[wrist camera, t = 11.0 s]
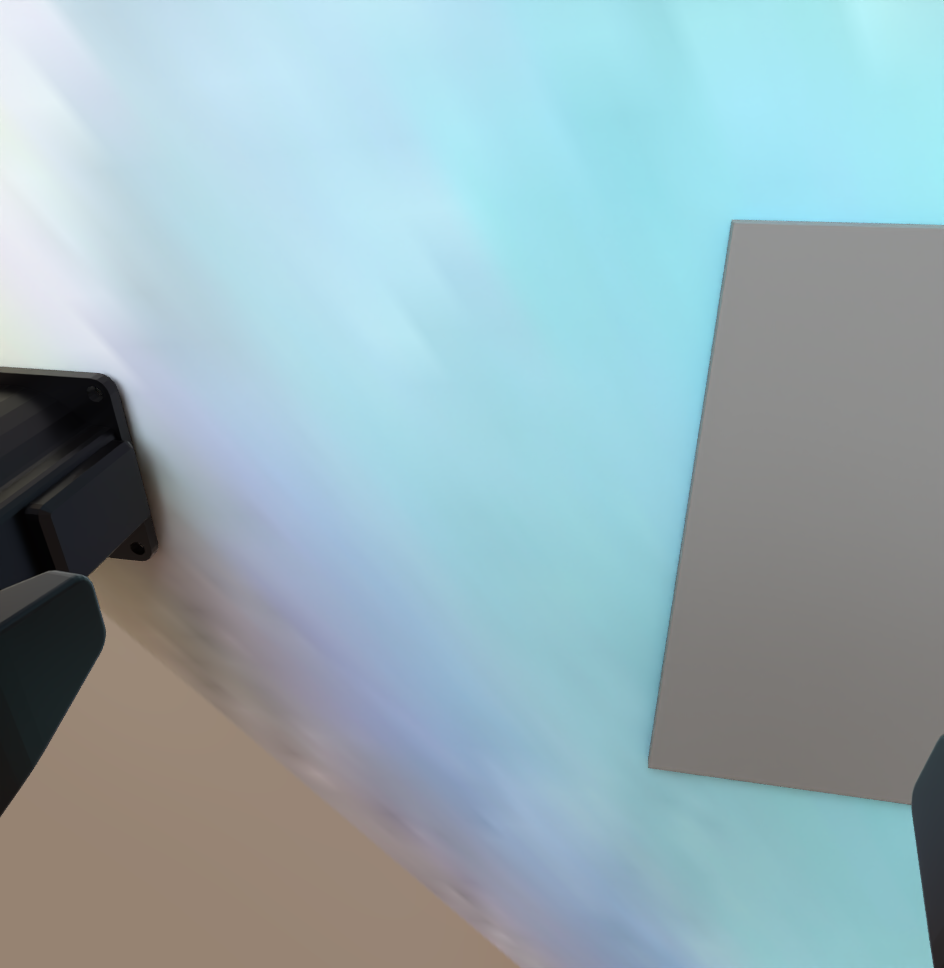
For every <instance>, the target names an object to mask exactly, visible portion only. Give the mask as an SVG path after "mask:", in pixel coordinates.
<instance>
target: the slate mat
mask: <svg viewBox="0 0 944 968" xmlns="http://www.w3.org/2000/svg"><path fill="white" fill-rule="evenodd" d="M943 734H944V225H920V224H881V223H842V222H803V221H763V220H732V222H731V228H730V235H729V241H728V248H727V254H726V261H725V267H724V273H723V280H722V286H721V293H720V299H719V306H718V312H717V319H716V325H715V331H714V338H713V344H712V351H711V357H710V364H709V370H708V376H707V383H706V389H705V396H704V402H703V409H702V415H701V422H700V428H699V434H698V441H697V447H696V454H695V460H694V467H693V473H692V479H691V486H690V492H689V499H688V505H687V512H686V518H685V525H684V531H683V537H682V544H681V550H680V557H679V563H678V570H677V576H676V582H675V589H674V595H673V602H672V608H671V615H670V621H669V628H668V634H667V640H666V647H665V653H664V660H663V666H662V673H661V679H660V686H659V692H658V698H657V705H656V711H655V718H654V724H653V731H652V737H651V743H650V750H649V756H648V768H653V769H660V770H667V771H674V772H681V773H688V774H696V775H703V776H710V777H717V778H724V779H731V780H738V781H745V782H753V783H760V784H767V785H774V786H781V787H788V788H795V789H803V790H810V791H817V792H824V793H831V794H838V795H845V796H852V797H860V798H867V799H874V800H881V801H888V802H895V803H902V804H909V805H911V800H912V793H913V789H914V786H915V783H916V781H917V779H918V777H919V775H920V773H921V771H922V769H923V768H924V766H925V764H926V762H927V760H928V758H929V756H930V754H931V752H932V750H933V748H934V746H935V744H936V742H937V741H938V739H939V738H940V736H942V735H943Z"/></svg>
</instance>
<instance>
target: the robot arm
mask: <svg viewBox="0 0 944 968" xmlns="http://www.w3.org/2000/svg"><path fill="white" fill-rule="evenodd" d="M95 387H97V388H98V389H99V390H100V391H101V393H102V395H103V396H100V395H99V394H98V393H97V392H96V390H95ZM139 543H140V544H141V545H142V546H143V547H142V546H140V545H139ZM157 549H158V541H157V538H156V534H155V530H154V526H153V522H152V519H151V515H150V509H149V505H148V502H147V498H146V494H145V490H144V486H143V483H142V479H141V475H140V471H139V467H138V463H137V460H136V456H135V452H134V449H133V446H132V442H131V438H130V434H129V431H128V427H127V423H126V419H125V415H124V411H123V408H122V404H121V400H120V396H119V392H118V389H117V387H116V385H115V383H114V382H113V381H112V380H111V379H110V378H109V377H107V376H106V375H103V374H100V373H88V372H73V371H57V370H42V369H27V368H12V367H0V817H1V815H2V814H3V813H4V811H5V810H6V808H7V807H8V805H9V804H10V802H11V801H12V800H13V798H14V797H15V795H16V794H17V792H18V791H19V790H20V788H21V786H22V785H23V784H24V782H25V781H26V779H27V778H28V776H29V775H30V773H31V772H32V770H33V769H34V767H35V765H36V764H37V762H38V761H39V759H40V757H41V756H42V754H43V752H44V751H45V749H46V748H47V746H48V744H49V742H50V740H51V739H52V737H53V735H54V734H55V732H56V730H57V728H58V727H59V725H60V723H61V721H62V720H63V718H64V716H65V714H66V713H67V711H68V709H69V707H70V706H71V704H72V702H73V700H74V699H75V697H76V695H77V693H78V692H79V690H80V688H81V686H82V684H83V683H84V681H85V679H86V677H87V676H88V674H89V672H90V671H91V668H92V667H93V665H94V664H95V661H96V660H97V658H98V657H99V655H100V653H101V651H102V649H103V646H104V642H105V637H106V629H105V625H104V622H103V618H102V614H101V611H100V607H99V603H98V600H97V596H96V593H95V589H94V586H93V584H92V582H91V581H90V580H89V578H88V576H89V575H90V574H91V573H92V572H93V571H94V570H95V569H96V568H97V567H98V566H99V565H100V564H101V563H102V562H103V561H104V560H105V559H106V558H108V557H110V558H119V559H128V560H137V561H146V560H148V559H150V558H151V557H152V555H153V554H154V553H155V552H156V551H157ZM911 808H912V817H913V824H914V831H915V839H916V846H917V853H918V860H919V868H920V875H921V882H922V889H923V897H924V904H925V911H926V918H927V926H928V933H929V940H930V947H931V953H932V959H933V965H934V968H944V734H943V735H942V736H940V738H939V739H938V741H937V742H936V744H935V746H934V748H933V750H932V752H931V754H930V756H929V758H928V760H927V762H926V764H925V766H924V768H923V769H922V771H921V773H920V775H919V777H918V779H917V781H916V783H915V786H914V789H913V793H912V800H911Z"/></svg>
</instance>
